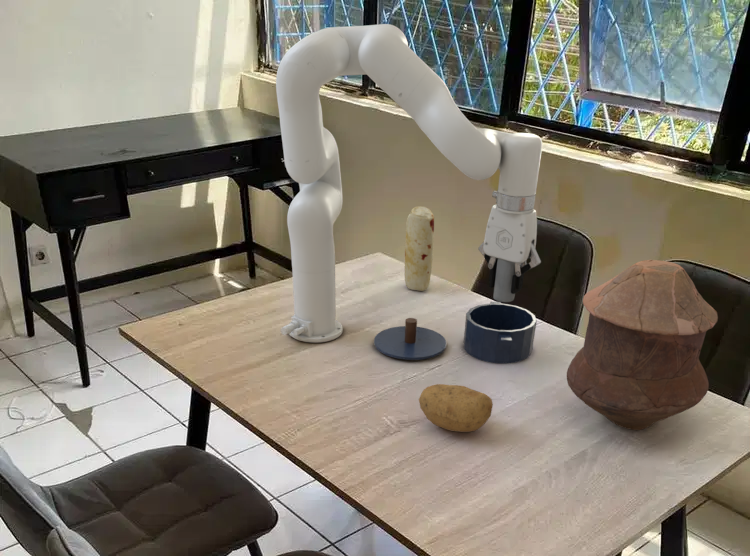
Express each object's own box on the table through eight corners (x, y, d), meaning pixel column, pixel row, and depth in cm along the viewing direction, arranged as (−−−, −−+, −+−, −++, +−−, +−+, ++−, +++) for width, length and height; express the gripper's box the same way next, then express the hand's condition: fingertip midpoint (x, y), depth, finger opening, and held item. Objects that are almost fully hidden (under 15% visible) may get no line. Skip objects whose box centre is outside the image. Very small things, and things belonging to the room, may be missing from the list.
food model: (436, 292, 200) (442, 213, 188) (412, 295, 198) (416, 215, 186) (421, 278, 208) (425, 202, 196) (398, 281, 206) (401, 204, 194)
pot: (524, 329, 183) (528, 299, 178) (537, 370, 166) (543, 338, 162) (460, 328, 183) (463, 297, 178) (467, 368, 166) (470, 336, 162)
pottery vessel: (628, 467, 137) (670, 306, 119) (532, 404, 154) (556, 256, 136) (723, 428, 148) (774, 276, 130) (623, 374, 166) (657, 233, 148)
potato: (428, 407, 153) (430, 370, 148) (496, 423, 148) (501, 386, 143) (409, 430, 146) (411, 392, 141) (479, 448, 141) (484, 410, 136)
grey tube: (516, 296, 169) (522, 249, 162) (512, 303, 165) (518, 256, 159) (495, 293, 170) (501, 246, 164) (491, 300, 166) (496, 253, 160)
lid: (443, 331, 181) (445, 306, 177) (448, 363, 168) (450, 337, 164) (374, 329, 181) (374, 304, 177) (373, 361, 168) (373, 335, 164)
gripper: (469, 197, 157) (462, 284, 168) (544, 214, 149) (531, 304, 160) (489, 189, 162) (480, 274, 173) (562, 205, 154) (548, 293, 165)
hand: (504, 288), depth 166 cm, fingers closed on grey tube, 4 cm apart
